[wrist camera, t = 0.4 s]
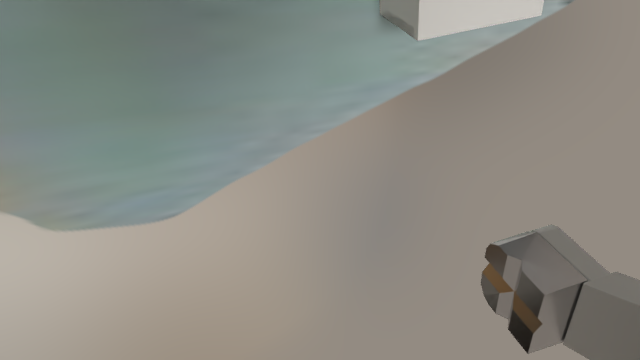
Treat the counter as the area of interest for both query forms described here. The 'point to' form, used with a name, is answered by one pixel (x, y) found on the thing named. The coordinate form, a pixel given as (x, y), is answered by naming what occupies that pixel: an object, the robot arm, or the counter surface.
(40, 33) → the counter surface
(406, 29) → the box
